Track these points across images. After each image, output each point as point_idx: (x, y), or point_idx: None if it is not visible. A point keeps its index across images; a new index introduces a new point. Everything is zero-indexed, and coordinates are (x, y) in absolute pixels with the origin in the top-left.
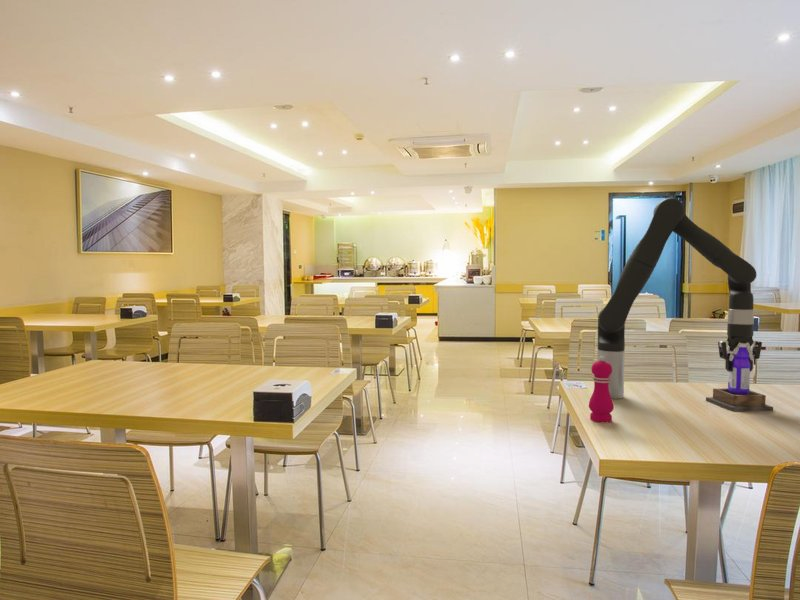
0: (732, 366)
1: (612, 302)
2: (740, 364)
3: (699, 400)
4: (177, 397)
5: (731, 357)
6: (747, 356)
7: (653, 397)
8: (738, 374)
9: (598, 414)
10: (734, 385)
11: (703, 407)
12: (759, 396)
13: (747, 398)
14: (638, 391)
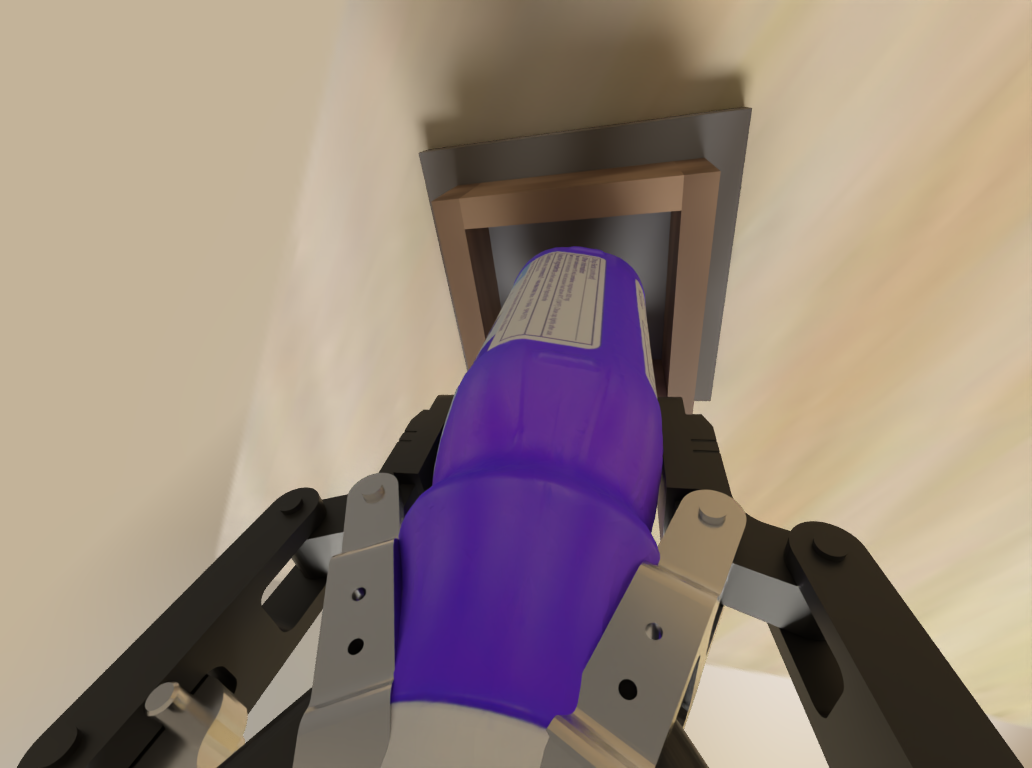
0: (665, 432)
1: None
2: (605, 390)
3: (742, 396)
4: None
5: (709, 536)
6: (460, 487)
7: (998, 469)
8: (627, 323)
9: None
10: (643, 297)
11: (885, 217)
12: (481, 195)
13: (583, 180)
14: (946, 573)
